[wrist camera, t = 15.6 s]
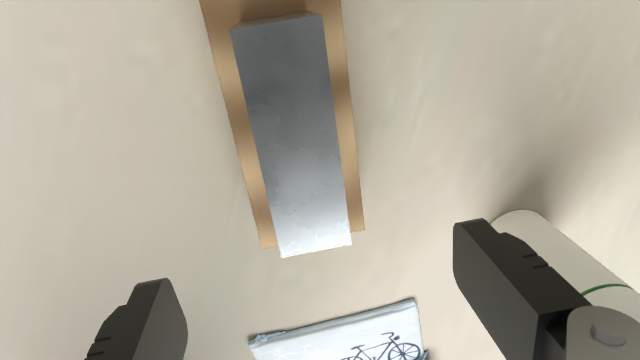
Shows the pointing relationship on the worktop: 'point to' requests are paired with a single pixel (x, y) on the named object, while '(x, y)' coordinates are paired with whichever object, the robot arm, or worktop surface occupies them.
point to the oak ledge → (220, 15)
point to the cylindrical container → (571, 262)
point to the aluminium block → (294, 128)
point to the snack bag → (350, 338)
